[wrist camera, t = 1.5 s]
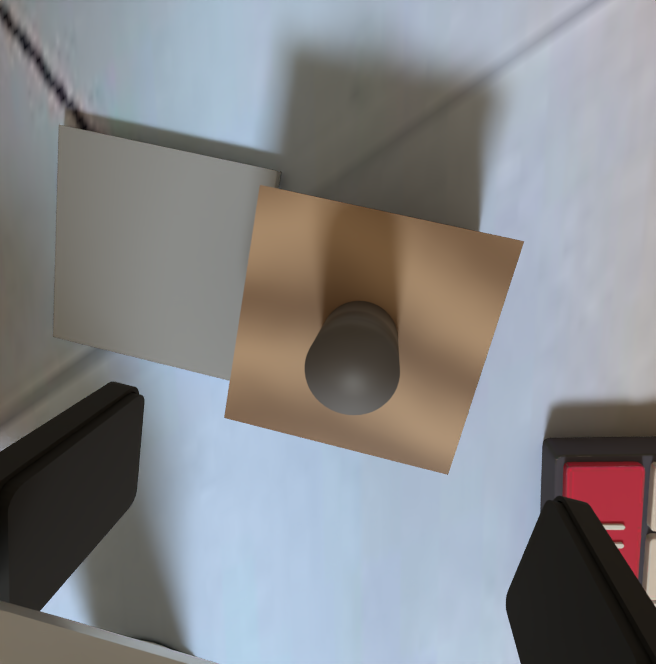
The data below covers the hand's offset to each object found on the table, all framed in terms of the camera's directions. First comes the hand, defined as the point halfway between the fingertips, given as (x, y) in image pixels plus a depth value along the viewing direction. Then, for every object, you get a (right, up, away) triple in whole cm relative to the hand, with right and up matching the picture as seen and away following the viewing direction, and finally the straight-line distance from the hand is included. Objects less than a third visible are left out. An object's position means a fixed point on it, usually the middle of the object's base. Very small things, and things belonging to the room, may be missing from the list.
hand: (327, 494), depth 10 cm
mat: (-12, +9, +22) cm, 27 cm away
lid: (+2, +4, +15) cm, 16 cm away
